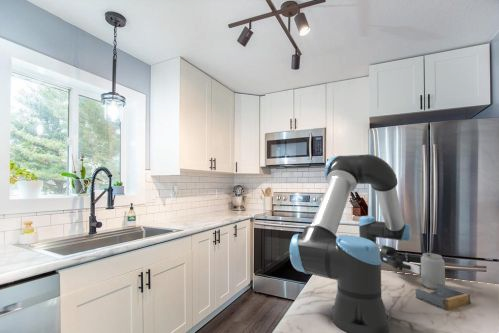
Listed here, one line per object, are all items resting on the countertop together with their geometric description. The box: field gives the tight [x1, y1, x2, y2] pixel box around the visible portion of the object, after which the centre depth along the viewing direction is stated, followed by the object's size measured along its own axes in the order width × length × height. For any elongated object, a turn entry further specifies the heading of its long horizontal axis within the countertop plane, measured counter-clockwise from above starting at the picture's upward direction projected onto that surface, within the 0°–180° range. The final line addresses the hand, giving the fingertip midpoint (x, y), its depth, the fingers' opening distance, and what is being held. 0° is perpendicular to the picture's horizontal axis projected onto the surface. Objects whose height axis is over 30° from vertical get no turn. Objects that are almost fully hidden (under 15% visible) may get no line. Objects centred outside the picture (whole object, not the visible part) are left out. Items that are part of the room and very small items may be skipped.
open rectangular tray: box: [415, 284, 472, 311], centre depth 90 cm, size 12×10×3 cm
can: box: [420, 252, 446, 291], centre depth 102 cm, size 8×8×12 cm
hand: (432, 267), depth 103 cm, fingers open, 13 cm apart
